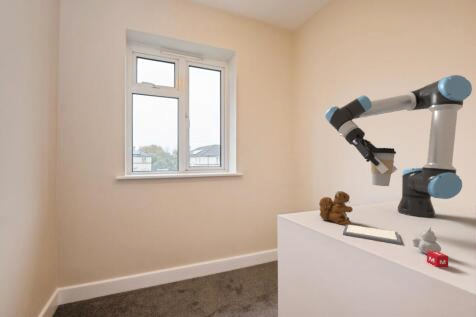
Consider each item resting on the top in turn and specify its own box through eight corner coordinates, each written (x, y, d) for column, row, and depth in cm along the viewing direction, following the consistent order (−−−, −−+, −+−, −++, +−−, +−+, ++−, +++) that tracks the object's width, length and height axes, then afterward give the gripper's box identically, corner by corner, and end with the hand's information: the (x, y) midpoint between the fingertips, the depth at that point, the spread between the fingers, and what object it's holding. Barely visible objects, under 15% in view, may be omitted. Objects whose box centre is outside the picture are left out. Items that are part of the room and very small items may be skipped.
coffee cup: (386, 184, 98) (388, 149, 97) (399, 187, 88) (402, 148, 88) (363, 183, 99) (365, 148, 98) (373, 185, 89) (375, 147, 89)
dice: (448, 267, 58) (448, 256, 58) (436, 268, 58) (437, 256, 58) (437, 262, 61) (437, 251, 61) (426, 262, 61) (426, 251, 61)
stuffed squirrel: (351, 226, 92) (352, 193, 92) (315, 220, 100) (315, 190, 100) (353, 221, 101) (354, 191, 101) (320, 216, 108) (320, 188, 108)
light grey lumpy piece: (440, 259, 63) (441, 230, 63) (410, 252, 67) (411, 225, 67) (441, 254, 67) (442, 226, 67) (412, 247, 71) (413, 221, 71)
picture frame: (397, 234, 84) (397, 231, 84) (401, 244, 73) (401, 241, 73) (346, 226, 92) (346, 223, 92) (342, 234, 82) (343, 231, 82)
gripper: (356, 141, 112) (392, 176, 100) (333, 137, 98) (370, 178, 86) (368, 129, 108) (407, 165, 96) (346, 123, 94) (387, 164, 82)
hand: (390, 171), depth 91 cm, fingers closed on coffee cup, 9 cm apart
